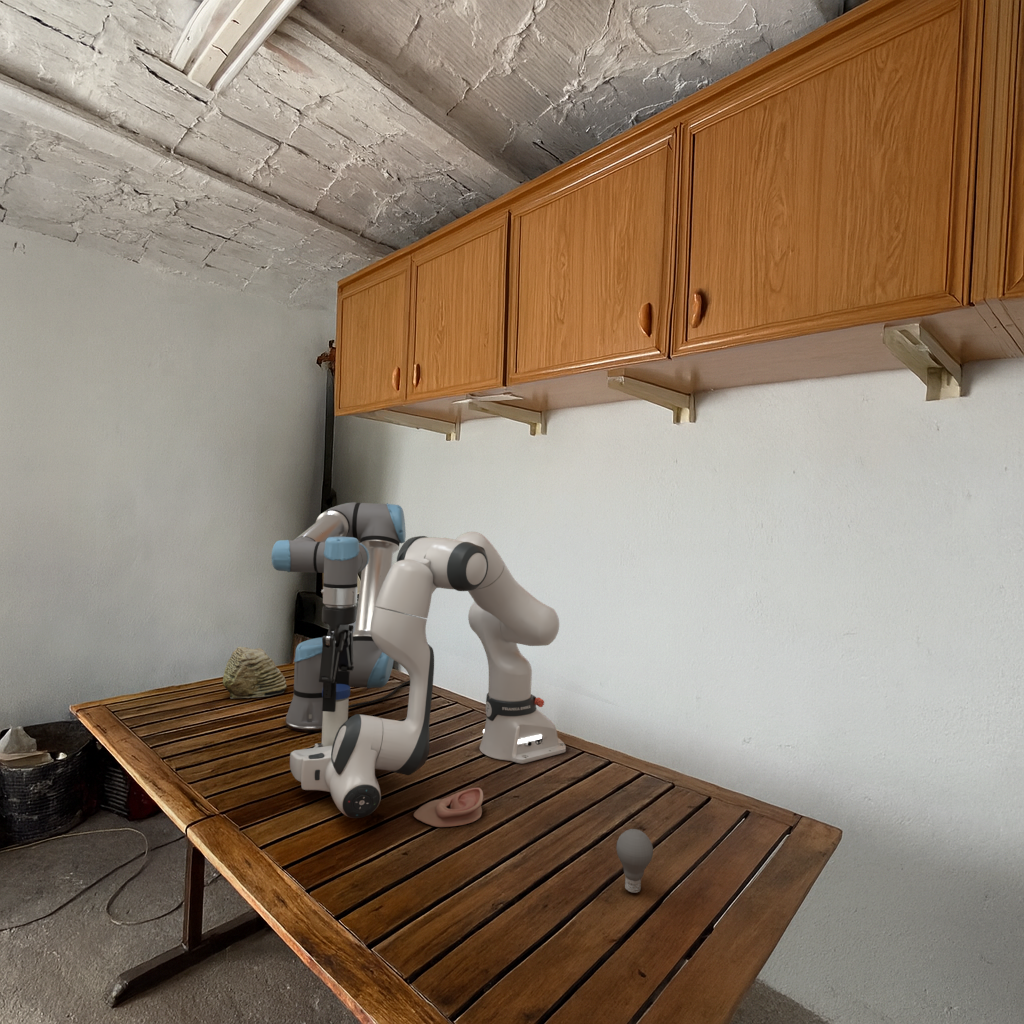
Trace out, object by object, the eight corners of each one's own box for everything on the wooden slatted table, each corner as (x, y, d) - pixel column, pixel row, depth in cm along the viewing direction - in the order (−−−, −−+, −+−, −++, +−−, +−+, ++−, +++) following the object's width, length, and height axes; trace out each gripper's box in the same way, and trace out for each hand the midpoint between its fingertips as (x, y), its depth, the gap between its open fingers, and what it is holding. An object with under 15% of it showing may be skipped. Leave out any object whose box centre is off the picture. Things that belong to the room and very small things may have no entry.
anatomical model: (408, 802, 124) (427, 778, 135) (407, 822, 124) (427, 796, 136) (473, 812, 122) (488, 786, 133) (473, 832, 122) (487, 805, 133)
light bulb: (610, 879, 108) (613, 822, 108) (644, 879, 109) (647, 822, 109) (619, 902, 102) (622, 840, 102) (655, 901, 103) (658, 840, 103)
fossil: (218, 695, 195) (220, 647, 195) (278, 685, 208) (279, 640, 207) (228, 703, 189) (230, 653, 188) (289, 692, 201) (290, 645, 201)
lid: (331, 690, 148) (331, 682, 148) (355, 693, 146) (355, 685, 146) (316, 697, 142) (316, 689, 142) (340, 701, 140) (341, 693, 140)
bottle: (347, 769, 147) (350, 687, 147) (343, 780, 142) (347, 694, 142) (322, 770, 147) (325, 686, 146) (318, 780, 141) (321, 694, 141)
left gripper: (339, 597, 154) (336, 690, 155) (305, 612, 134) (301, 719, 134) (369, 599, 154) (366, 692, 154) (339, 614, 133) (335, 721, 133)
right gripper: (394, 747, 137) (378, 725, 149) (295, 760, 128) (287, 736, 140) (393, 776, 137) (377, 752, 150) (294, 791, 128) (286, 764, 141)
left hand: (335, 704), depth 144 cm, fingers open, 8 cm apart
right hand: (333, 744), depth 145 cm, fingers closed on bottle, 5 cm apart
